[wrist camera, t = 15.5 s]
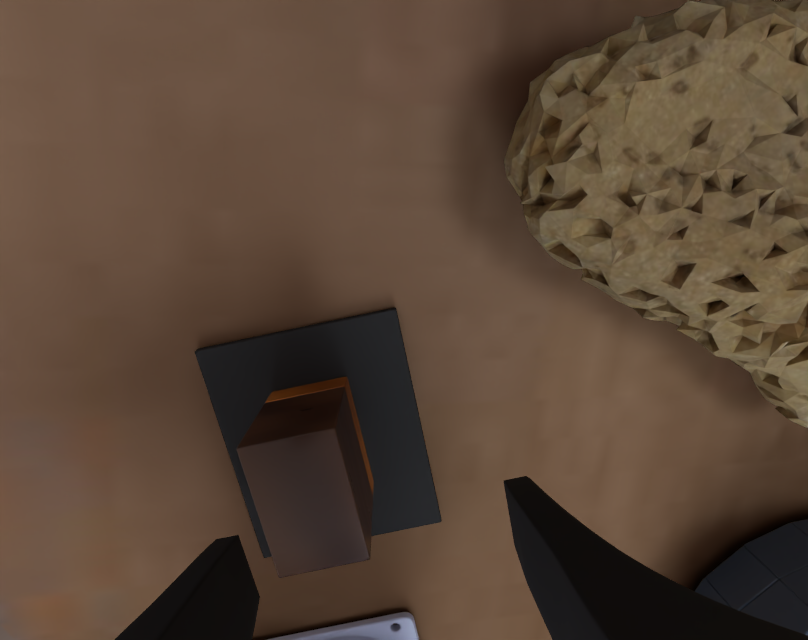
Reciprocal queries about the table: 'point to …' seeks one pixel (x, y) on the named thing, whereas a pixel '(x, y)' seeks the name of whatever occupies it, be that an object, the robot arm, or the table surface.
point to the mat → (372, 394)
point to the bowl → (766, 578)
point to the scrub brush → (310, 477)
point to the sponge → (684, 178)
